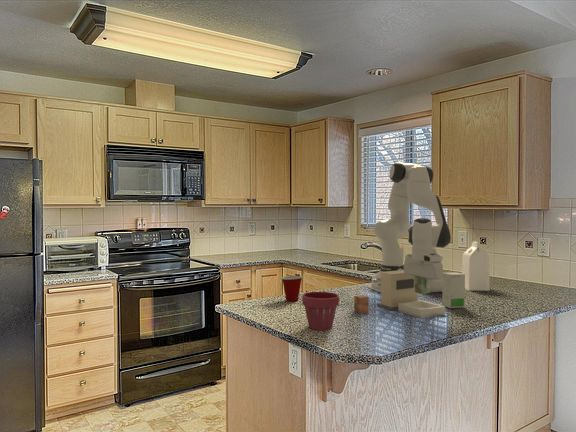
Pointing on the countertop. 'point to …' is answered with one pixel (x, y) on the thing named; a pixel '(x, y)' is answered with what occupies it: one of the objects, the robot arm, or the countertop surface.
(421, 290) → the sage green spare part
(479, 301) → the countertop surface
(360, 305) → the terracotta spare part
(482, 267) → the milk
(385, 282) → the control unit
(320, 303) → the plant pot
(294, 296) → the plastic cup
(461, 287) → the skincare box
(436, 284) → the soap bottle
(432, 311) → the parts tray
